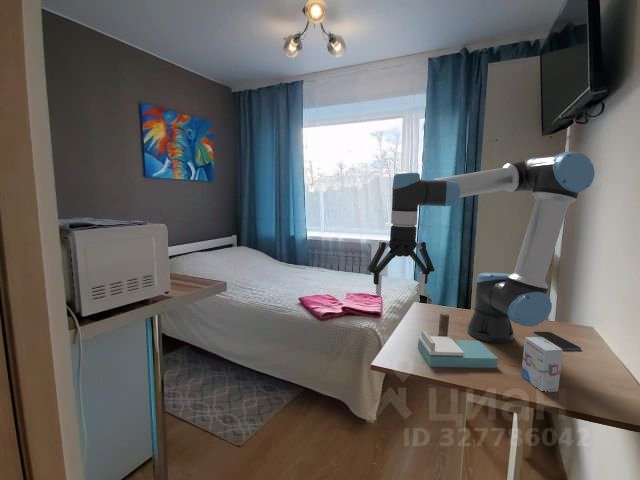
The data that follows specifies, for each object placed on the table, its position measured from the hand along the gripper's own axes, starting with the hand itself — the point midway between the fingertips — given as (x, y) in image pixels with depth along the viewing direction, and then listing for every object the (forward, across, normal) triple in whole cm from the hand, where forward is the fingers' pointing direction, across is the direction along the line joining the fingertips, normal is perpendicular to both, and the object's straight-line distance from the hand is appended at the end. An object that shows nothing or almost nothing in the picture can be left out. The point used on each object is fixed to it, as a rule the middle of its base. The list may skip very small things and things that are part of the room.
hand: (399, 294), depth 104 cm
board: (+20, -18, +3) cm, 27 cm away
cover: (+16, -13, +3) cm, 21 cm away
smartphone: (+21, -61, -6) cm, 65 cm away
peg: (+20, -19, -8) cm, 29 cm away
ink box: (+20, -34, +19) cm, 43 cm away
